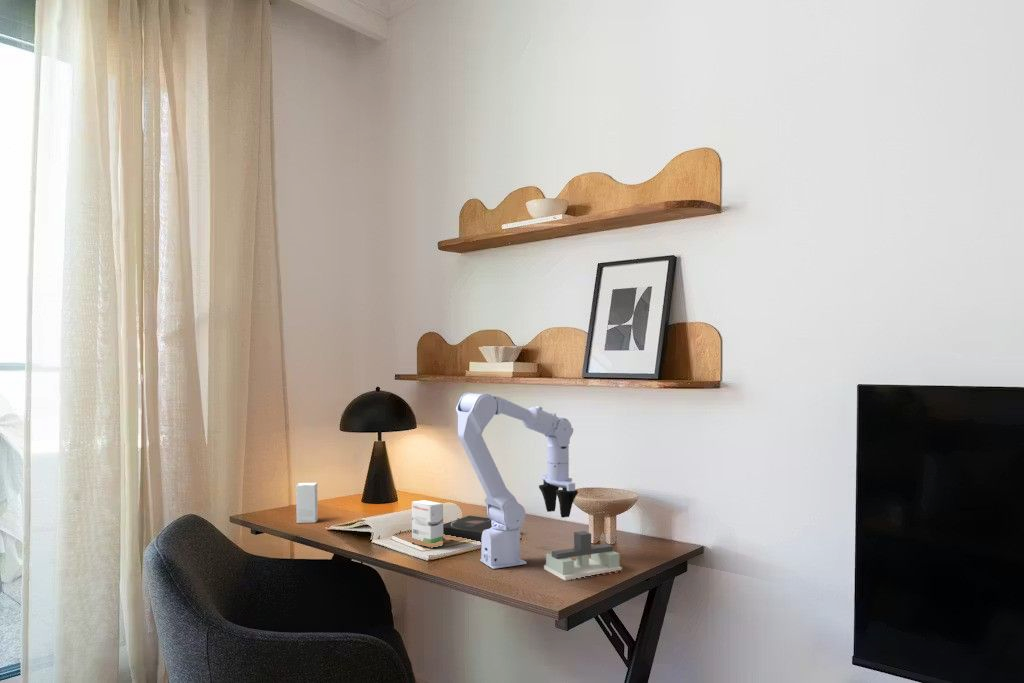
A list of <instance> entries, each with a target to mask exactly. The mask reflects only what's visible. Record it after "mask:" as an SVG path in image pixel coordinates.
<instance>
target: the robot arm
mask: <svg viewBox="0 0 1024 683" xmlns="http://www.w3.org/2000/svg"><path fill="white" fill-rule="evenodd" d="M455 411H456V414H457V435H458V439H459V440H460V443H461V444H462V448H463V449H464V451H465V453H466V455H467V457H468V459H469V462H470V464H471V466H472V468H473V470H474V472H475V475H476V476H477V478H478V481H479V483H480V484H481V486H482V489H483V491H484V493H485V495H486V497H485V498H484V503H485V504H486V512H487V513H486V515H487V518H489V519H490V520H491V525H492V527H491V528H490V529H486V530H484V531H483V533H482V538H481V546H480V547H481V548H480V550H481V554H480V555H481V556H480V559H479V561H480V562H481V563H483V564H484V565H486V566H488V567H490V569H493V570H495V569H500V568H507V567H514V566H522V565H527V561H525V560H524V559H522V558H521V528H522V525H523V524H524V522H525V520H526V516H527V515H526V514H527V513H526V510H525V507H524V506H523V505H522V504H520V503H519V502H518V501H517V498H516V497H515V496H514V495H513V493H512V492H511V491H509V489H508V488H507V486H506V484H505V482H504V480H503V478H502V476H501V473H500V471H499V469H498V466H497V465H496V463H495V460H494V458H493V457H492V454H491V452H490V450H489V448H488V445H487V444H486V442H485V440H484V438H483V432H484V430H485V428H486V427H487V426H488V424H489V423H490V421H492V419H493V418H494V416H495V415H497V416H498V415H501V414H502V415H504V416H507V417H510V418H514V419H517V420H519V421H522V423H523V426H524V427H525V428H526V429H529V430H531V431H534V432H537V433H540V434H542V435H544V436H545V437H546V446H547V447H546V455H547V457H546V474H543V475H541V483H542V484H539V485H538V489H539V491H540V492H541V494H542V496H543V500H544V505H545V509H546V512H548V513H549V512H555V511H556V508H557V507H556V505H557V498H558V503H559V512H560V518H562V519H563V518H570V515H571V511H572V508H573V503H574V501H575V498H576V496H577V495H578V490H577V489H576V483H575V482H573V478H571V477H570V476H569V472H570V468H569V467H570V466H569V465H570V464H569V463H570V462H569V460H570V457H569V454H570V453H569V452H570V450H569V448H570V447H569V445H570V443H571V442H570V440H571V437H572V435H573V434H574V427H573V426H572V423H571V422H570V420H569V419H568V418H565V417H557V413H555V412H551V413H549V412H547V411H545V410H543V407H542V406H538V405H536V406H531V407H529V408H525V407H523V406H520V405H518V404H516V403H515V402H512V401H509V400H508V399H505V398H503V397H500V396H496V395H492V394H489V393H475V392H465V393H464V394H462V395H461V397H460V398H459V401H458V403H457V405H456V407H455Z"/></svg>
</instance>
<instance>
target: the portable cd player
mask: <svg viewBox="0 0 1024 683" xmlns="http://www.w3.org/2000/svg"><path fill="white" fill-rule="evenodd" d="M491 527H492V525H491V520H490V519H489V517H483V516H477V515H467V516H463V517H461V518H459V519H454V520H452V521H449V522H446V523H443V534H445V535H451V536H456V537H462V538H467V539H471V540H476V541H480V542H481V538H482V533H483V531H484V530H486V529H490V528H491Z"/></svg>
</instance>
